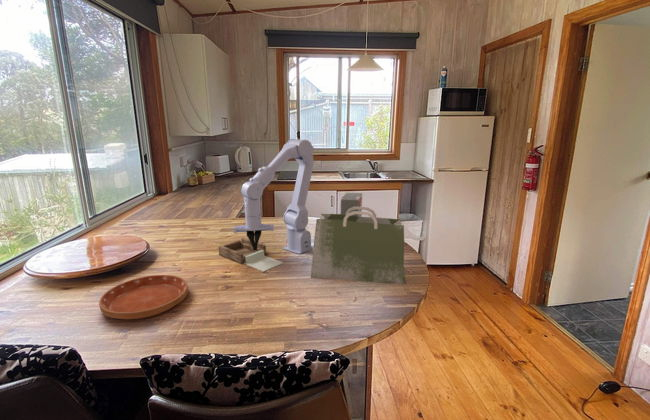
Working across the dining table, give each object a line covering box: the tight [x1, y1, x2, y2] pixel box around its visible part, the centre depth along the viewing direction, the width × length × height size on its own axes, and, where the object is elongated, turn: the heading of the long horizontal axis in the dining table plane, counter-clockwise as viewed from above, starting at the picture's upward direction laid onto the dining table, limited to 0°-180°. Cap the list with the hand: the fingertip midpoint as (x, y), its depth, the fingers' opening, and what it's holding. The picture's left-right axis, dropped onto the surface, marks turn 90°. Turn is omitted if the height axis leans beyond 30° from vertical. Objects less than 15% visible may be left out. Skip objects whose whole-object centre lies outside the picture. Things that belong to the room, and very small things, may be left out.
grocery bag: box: [310, 206, 407, 285], centre depth 115 cm, size 32×14×23 cm, turn 81°
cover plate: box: [243, 250, 284, 273], centre depth 126 cm, size 11×9×3 cm
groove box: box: [218, 237, 267, 265], centre depth 134 cm, size 14×12×4 cm
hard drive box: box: [340, 192, 363, 217], centre depth 147 cm, size 16×8×20 cm, turn 168°
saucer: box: [98, 274, 189, 320], centre depth 100 cm, size 23×23×4 cm
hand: (255, 249), depth 128 cm, fingers closed
